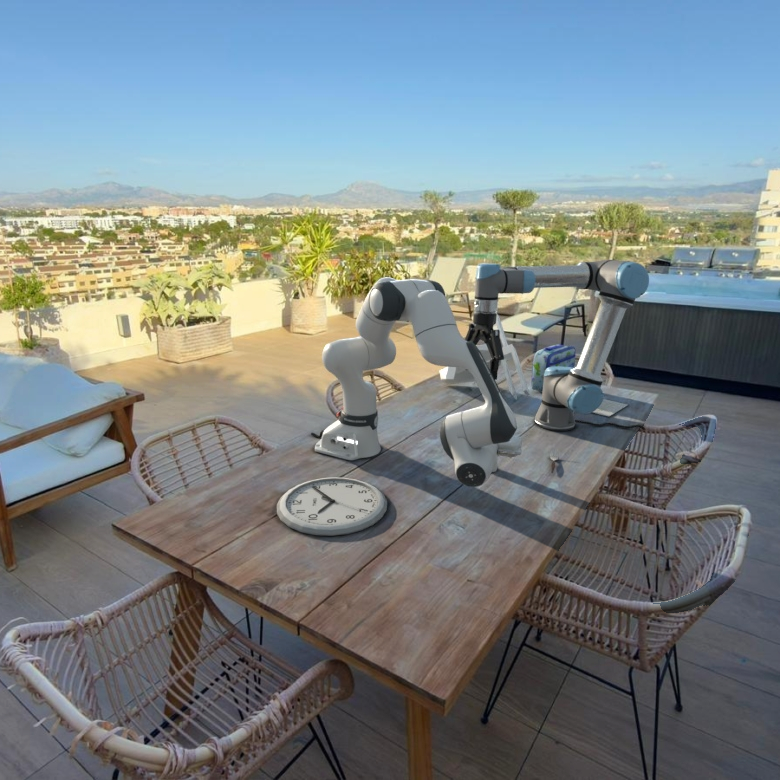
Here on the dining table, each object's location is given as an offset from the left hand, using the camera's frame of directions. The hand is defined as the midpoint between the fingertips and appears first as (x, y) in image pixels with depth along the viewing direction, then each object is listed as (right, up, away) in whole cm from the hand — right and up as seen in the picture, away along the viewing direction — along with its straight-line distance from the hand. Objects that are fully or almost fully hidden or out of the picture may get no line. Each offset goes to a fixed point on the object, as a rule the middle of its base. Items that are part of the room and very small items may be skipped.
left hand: (487, 431), depth 151 cm
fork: (+25, -12, +19) cm, 34 cm away
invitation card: (+63, +5, +75) cm, 99 cm away
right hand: (+3, +17, +26) cm, 32 cm away
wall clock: (-44, -20, -8) cm, 49 cm away
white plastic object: (+14, +11, +92) cm, 94 cm away
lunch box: (+49, +12, +99) cm, 111 cm away
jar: (+3, -13, +15) cm, 20 cm away
